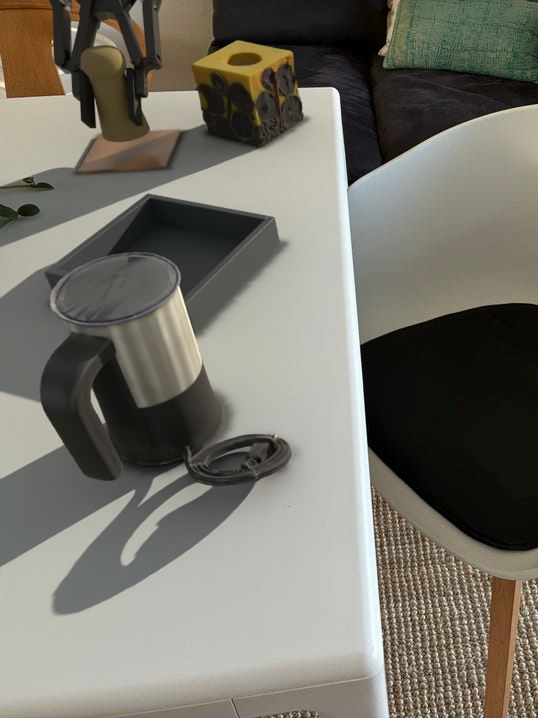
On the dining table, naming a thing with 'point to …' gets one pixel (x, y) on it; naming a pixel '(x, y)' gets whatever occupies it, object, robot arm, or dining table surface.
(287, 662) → the dining table surface
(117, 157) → the coaster
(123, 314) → the milk frother
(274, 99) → the candle
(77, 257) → the tray
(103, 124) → the pepper shaker
